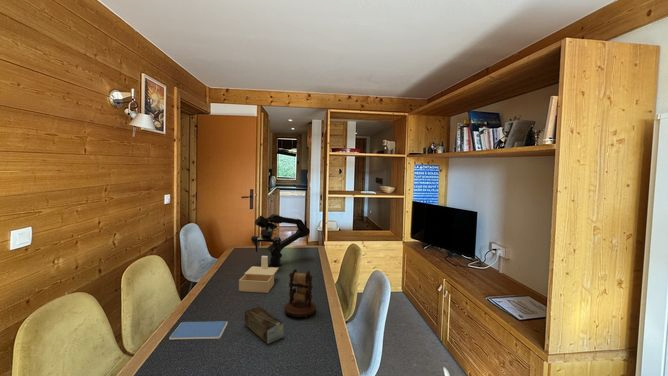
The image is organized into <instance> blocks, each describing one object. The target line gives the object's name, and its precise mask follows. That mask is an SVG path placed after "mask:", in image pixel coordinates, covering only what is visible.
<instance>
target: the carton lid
mask: <svg viewBox="0 0 668 376" xmlns="http://www.w3.org/2000/svg"><path fill="white" fill-rule="evenodd" d="M260 260H261V262H260V263H261V264H260V266H254V265H253V266H251V267H250V268H249V269H248V270H247V271H245V272H244V273H243V274H244V275H261V276H273V275H274V276H275V274H276V273H277V271H279V267H272V266H270V267H269V264H268V263H269V262H268V261H269V256H268V255H261V259H260ZM244 275H243V276H244Z"/></svg>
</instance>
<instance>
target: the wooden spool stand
mask: <svg viewBox="0 0 668 376" xmlns="http://www.w3.org/2000/svg"><path fill="white" fill-rule="evenodd" d="M288 276H289V283H288V286H289V287H288V288H289V292H288V296H289V299H288V302H287V303H286V304H284V307H283V310H284V313H285V316H288V315H289V316H292V317H298V318H299V317H302V318H303V317H305V319H307V318H308V316H309V315H312V314H314V313H315V312H316V310H317V305H316V303H314V302H313V301H312V298H313V296H312V294H313V292H312V291H313V285H312V284H313V283H312V281H313V280H312V279H313V275H311V271H309V270H307V271H306V273H300V272H298V271H297V269H296V268H294V269H293V270H292V272H289V274H288Z"/></svg>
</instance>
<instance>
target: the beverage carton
mask: <svg viewBox="0 0 668 376" xmlns="http://www.w3.org/2000/svg"><path fill="white" fill-rule="evenodd" d="M244 324H245V326H247V327H248V328H249V329H250V330H251V331H252V332H253V333H254V334H255V335H257V336H258V338H260V339H261V340H262V341H264V343H266V344H271V343H273V342H275V341H277V340H279V339H280V340H281V339H283V338H284V336H285V334H284V333H285V331H284V327H285V326H284V324H285V323H283V322H282V321H281V320H279V319H278V318H277V317H276V316H274V315H273V314H271V313H270V312H269V311H267V310H266V309H265V308H263V307H262V306H261V305H259V306H257V307H255V308H254V307H253V308H251V309H249V310H245V311H244Z"/></svg>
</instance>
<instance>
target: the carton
mask: <svg viewBox="0 0 668 376" xmlns="http://www.w3.org/2000/svg"><path fill="white" fill-rule="evenodd" d="M274 285H275V274H274V275H273V276H261V275H243V276H242V277H241V278H240V279H238V292H247V293H249V292H250V293H265V294H266V293H267V294H268V293H269V292H270V290H271V289H272V288H273V286H274Z"/></svg>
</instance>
